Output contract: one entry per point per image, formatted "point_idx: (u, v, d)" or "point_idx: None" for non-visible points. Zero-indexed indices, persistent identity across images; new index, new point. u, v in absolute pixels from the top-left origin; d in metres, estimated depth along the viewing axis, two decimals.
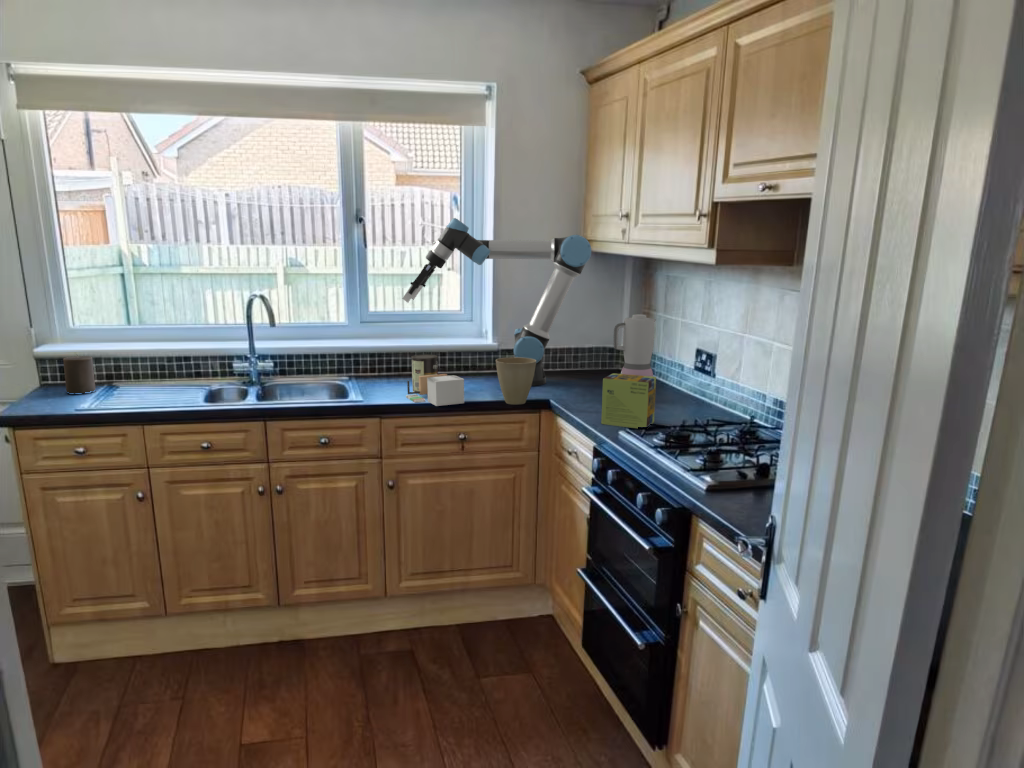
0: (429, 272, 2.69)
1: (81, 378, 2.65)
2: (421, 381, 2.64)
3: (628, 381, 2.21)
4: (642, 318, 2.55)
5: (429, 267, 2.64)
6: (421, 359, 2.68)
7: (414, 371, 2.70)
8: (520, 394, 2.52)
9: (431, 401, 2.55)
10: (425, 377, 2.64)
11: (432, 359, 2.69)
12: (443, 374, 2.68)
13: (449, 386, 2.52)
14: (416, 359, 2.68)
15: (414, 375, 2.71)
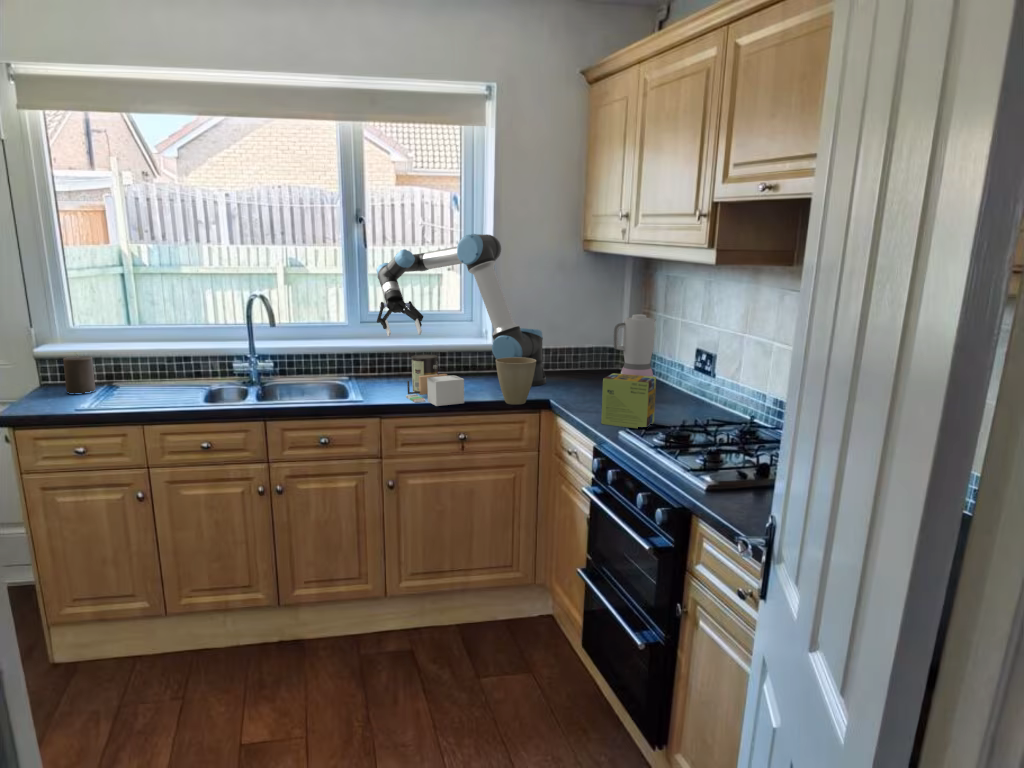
0: None
1: (81, 378, 2.65)
2: (421, 381, 2.64)
3: (628, 381, 2.21)
4: (642, 318, 2.55)
5: (380, 304, 2.94)
6: (421, 359, 2.68)
7: (414, 371, 2.70)
8: (520, 394, 2.52)
9: (431, 401, 2.55)
10: (425, 377, 2.64)
11: (432, 359, 2.69)
12: (443, 374, 2.68)
13: (449, 386, 2.52)
14: (416, 359, 2.68)
15: (414, 375, 2.71)
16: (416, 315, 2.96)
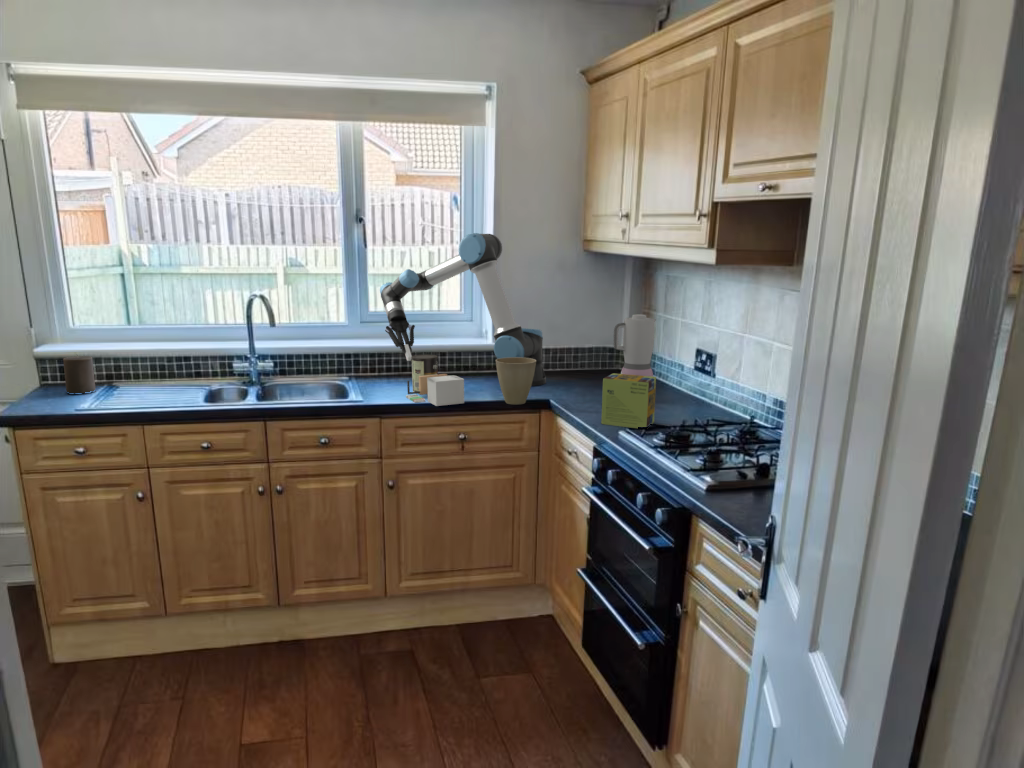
0: None
1: (81, 378, 2.65)
2: (421, 381, 2.64)
3: (628, 381, 2.21)
4: (642, 318, 2.55)
5: (386, 329, 2.91)
6: (421, 359, 2.68)
7: (414, 371, 2.70)
8: (520, 394, 2.52)
9: (431, 401, 2.55)
10: (425, 377, 2.64)
11: (432, 359, 2.69)
12: (443, 374, 2.68)
13: (449, 386, 2.52)
14: (416, 359, 2.68)
15: (414, 375, 2.71)
16: (408, 340, 2.90)
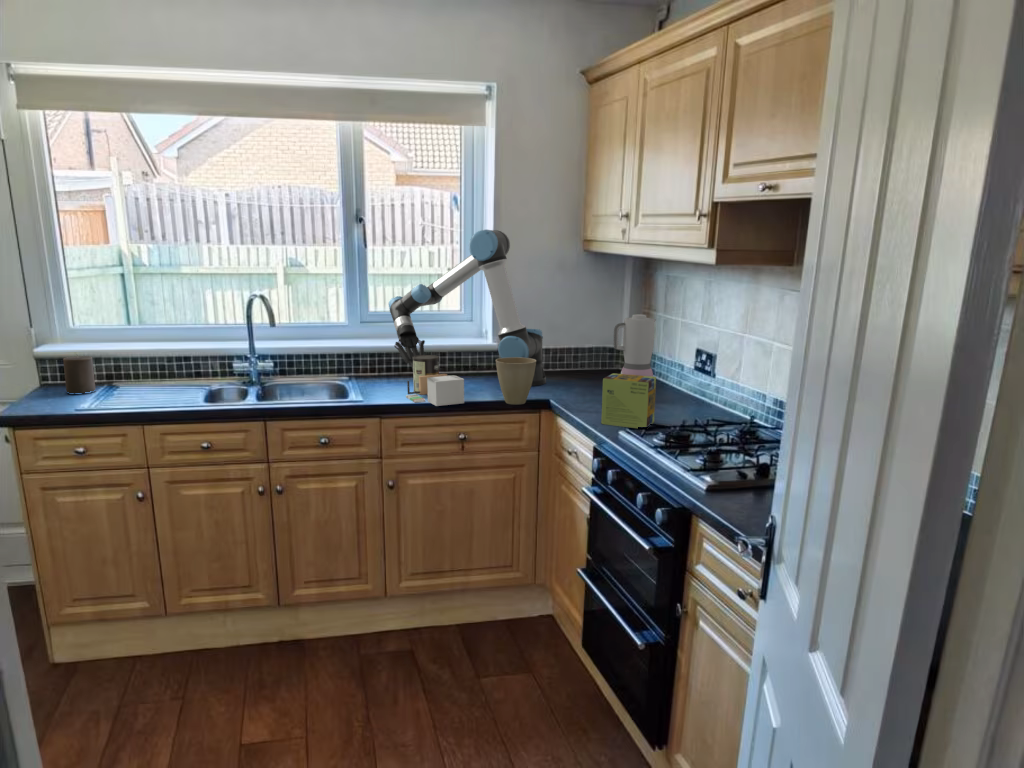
0: None
1: (81, 378, 2.65)
2: (421, 381, 2.64)
3: (628, 381, 2.21)
4: (642, 318, 2.55)
5: (395, 344, 2.82)
6: (422, 359, 2.66)
7: (415, 372, 2.69)
8: (520, 394, 2.52)
9: (431, 401, 2.55)
10: (425, 377, 2.64)
11: (433, 359, 2.68)
12: (443, 374, 2.68)
13: (449, 386, 2.52)
14: (417, 359, 2.67)
15: (415, 376, 2.69)
16: None
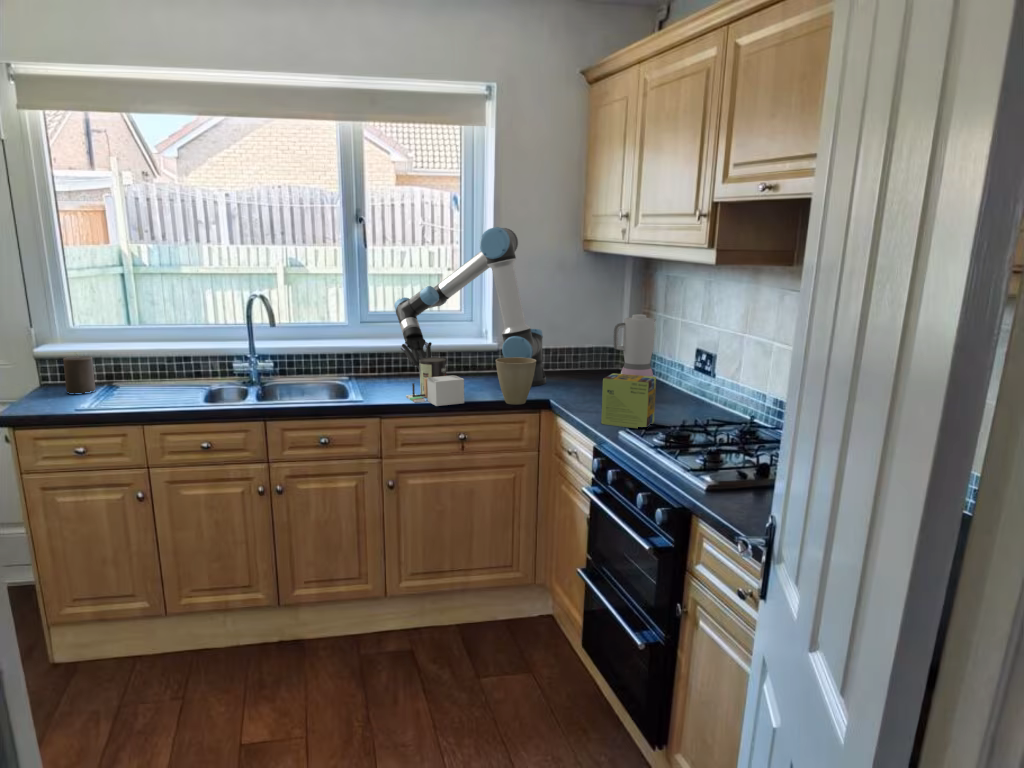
0: None
1: (81, 378, 2.65)
2: (426, 384, 2.59)
3: (628, 381, 2.21)
4: (642, 318, 2.55)
5: (402, 347, 2.77)
6: (429, 362, 2.60)
7: (422, 375, 2.63)
8: (520, 394, 2.52)
9: (431, 401, 2.55)
10: None
11: (440, 362, 2.62)
12: None
13: (449, 386, 2.52)
14: (424, 362, 2.61)
15: (422, 379, 2.64)
16: None
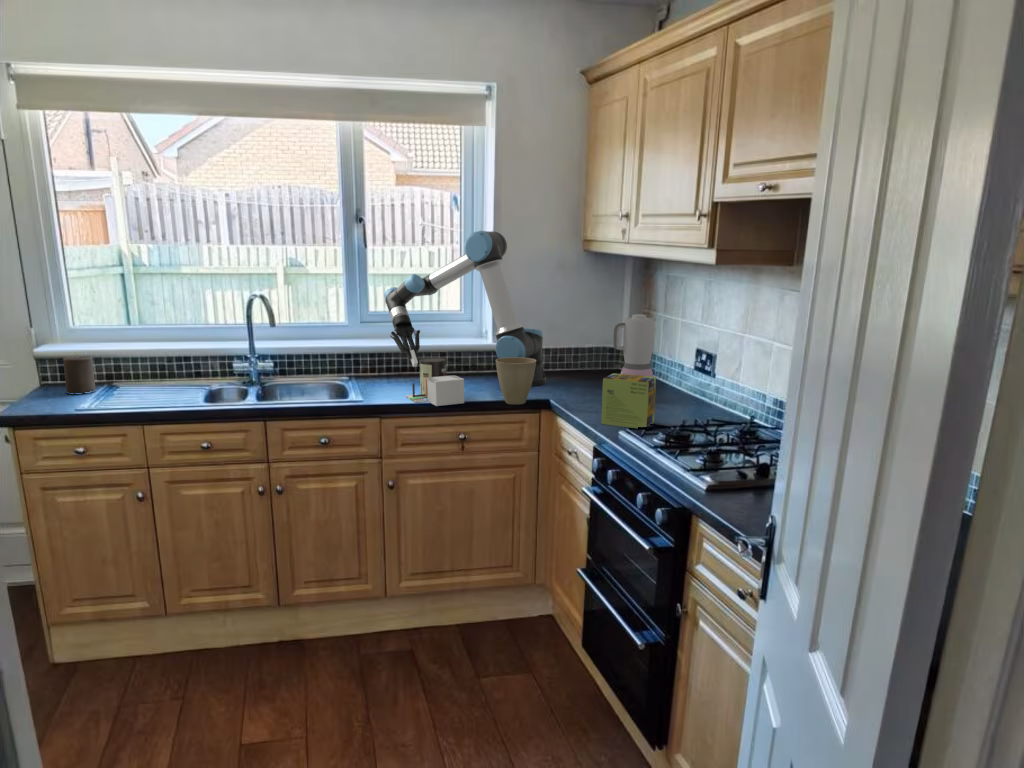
0: None
1: (81, 378, 2.65)
2: (426, 384, 2.59)
3: (628, 381, 2.21)
4: (642, 318, 2.55)
5: (391, 334, 2.87)
6: (429, 362, 2.60)
7: (422, 375, 2.63)
8: (520, 394, 2.52)
9: (431, 401, 2.55)
10: None
11: (440, 362, 2.62)
12: None
13: (449, 386, 2.52)
14: (424, 362, 2.61)
15: (422, 379, 2.64)
16: (414, 345, 2.86)
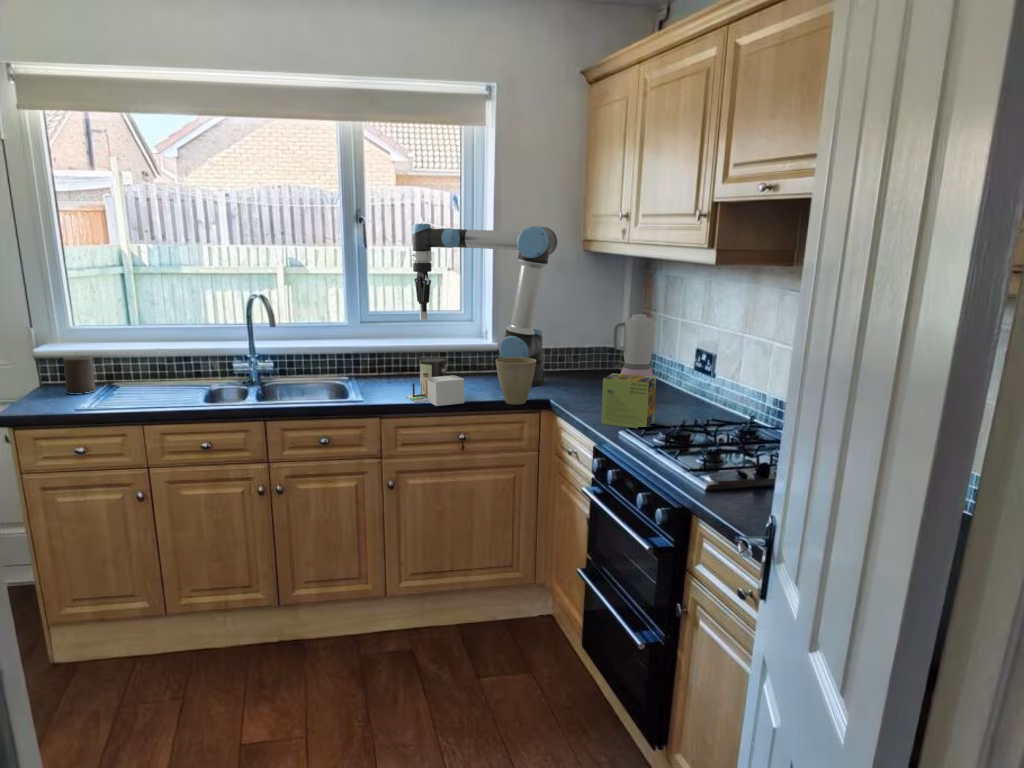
0: None
1: (81, 378, 2.65)
2: (426, 384, 2.59)
3: (628, 381, 2.21)
4: (642, 318, 2.55)
5: (428, 282, 2.81)
6: (429, 362, 2.60)
7: (422, 375, 2.63)
8: (520, 394, 2.52)
9: (431, 401, 2.55)
10: None
11: (440, 362, 2.62)
12: None
13: (449, 386, 2.52)
14: (424, 362, 2.61)
15: (422, 379, 2.64)
16: None
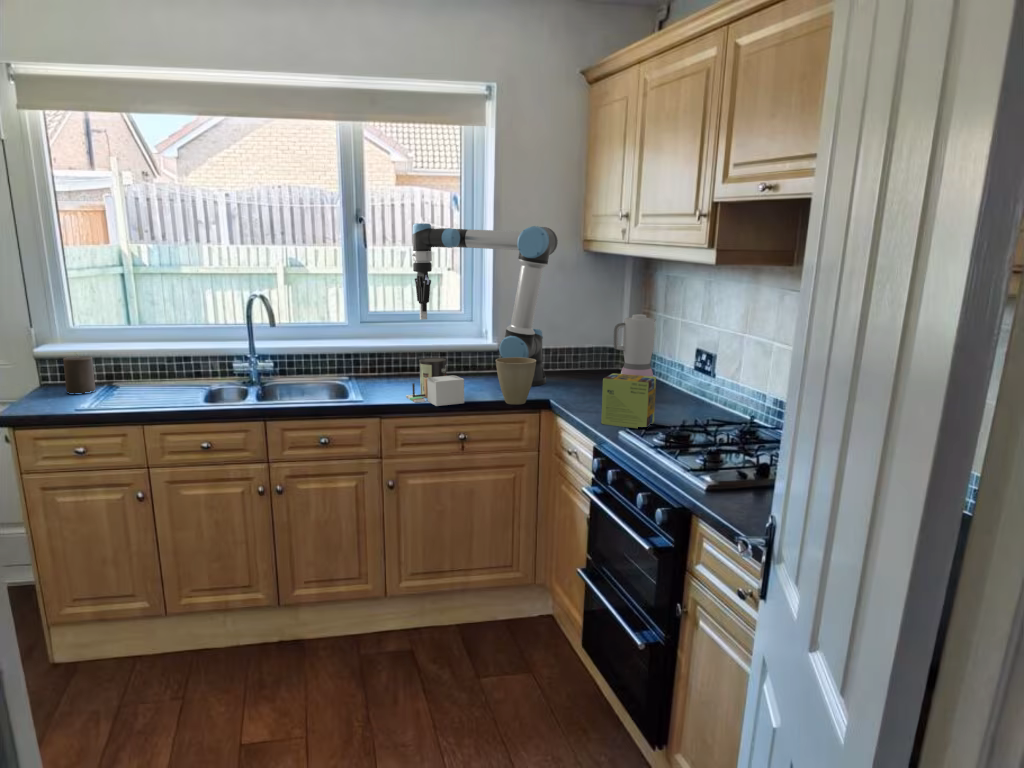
0: None
1: (81, 378, 2.65)
2: (426, 384, 2.59)
3: (628, 381, 2.21)
4: (642, 318, 2.55)
5: (429, 282, 2.81)
6: (429, 362, 2.60)
7: (422, 375, 2.63)
8: (520, 394, 2.52)
9: (431, 401, 2.55)
10: None
11: (440, 362, 2.62)
12: None
13: (449, 386, 2.52)
14: (424, 362, 2.61)
15: (422, 379, 2.64)
16: None
